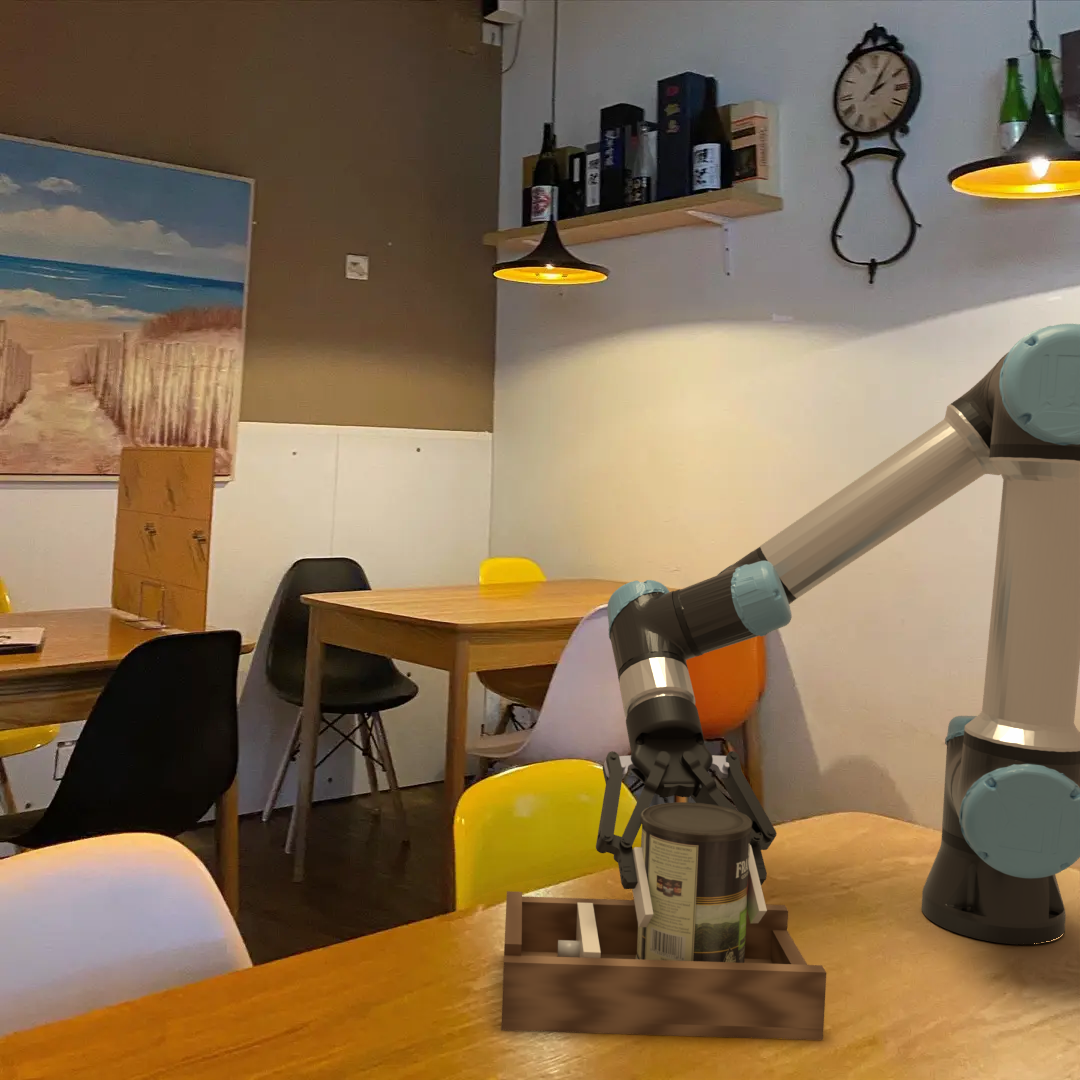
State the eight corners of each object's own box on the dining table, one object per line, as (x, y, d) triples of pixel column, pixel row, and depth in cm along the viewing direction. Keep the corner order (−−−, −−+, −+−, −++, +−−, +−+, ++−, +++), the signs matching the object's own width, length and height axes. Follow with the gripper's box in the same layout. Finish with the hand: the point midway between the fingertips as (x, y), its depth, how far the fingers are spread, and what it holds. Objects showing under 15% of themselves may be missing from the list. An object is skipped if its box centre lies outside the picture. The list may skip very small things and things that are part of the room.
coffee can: (744, 948, 112) (751, 805, 111) (746, 994, 102) (753, 838, 101) (638, 937, 114) (644, 797, 113) (630, 982, 103) (636, 828, 103)
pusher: (590, 952, 113) (592, 903, 113) (598, 1008, 101) (600, 952, 101) (555, 951, 113) (557, 901, 113) (558, 1006, 101) (560, 951, 101)
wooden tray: (781, 963, 116) (785, 895, 115) (823, 1040, 100) (826, 961, 99) (504, 954, 115) (507, 886, 115) (501, 1030, 99) (504, 950, 99)
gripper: (753, 732, 124) (805, 932, 109) (547, 732, 120) (574, 940, 105) (774, 692, 118) (833, 897, 104) (560, 691, 114) (589, 904, 99)
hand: (702, 919), depth 104 cm, fingers closed on coffee can, 10 cm apart
